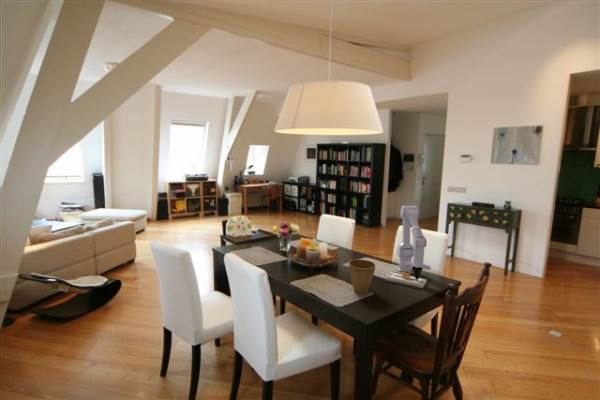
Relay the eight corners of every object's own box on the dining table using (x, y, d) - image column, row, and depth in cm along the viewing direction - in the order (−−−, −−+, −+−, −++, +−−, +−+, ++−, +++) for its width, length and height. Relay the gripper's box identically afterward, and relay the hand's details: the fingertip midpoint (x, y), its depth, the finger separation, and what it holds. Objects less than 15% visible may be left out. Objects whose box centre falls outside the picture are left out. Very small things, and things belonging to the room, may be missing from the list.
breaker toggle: (403, 275, 204) (403, 269, 203) (409, 277, 202) (410, 270, 201) (401, 277, 201) (402, 270, 201) (408, 278, 199) (409, 272, 198)
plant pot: (350, 296, 180) (351, 268, 177) (345, 285, 194) (346, 259, 192) (377, 296, 180) (378, 268, 178) (370, 285, 195) (372, 259, 192)
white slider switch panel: (390, 274, 212) (390, 271, 211) (426, 282, 200) (426, 279, 199) (385, 279, 204) (385, 276, 204) (422, 287, 192) (422, 284, 192)
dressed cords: (392, 273, 214) (392, 271, 214) (427, 280, 203) (427, 278, 203) (384, 281, 201) (384, 279, 201) (420, 289, 189) (420, 287, 189)
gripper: (404, 256, 196) (402, 278, 198) (429, 261, 189) (428, 283, 191) (407, 253, 202) (406, 274, 204) (432, 258, 194) (430, 280, 196)
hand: (416, 278), depth 198 cm, fingers closed
